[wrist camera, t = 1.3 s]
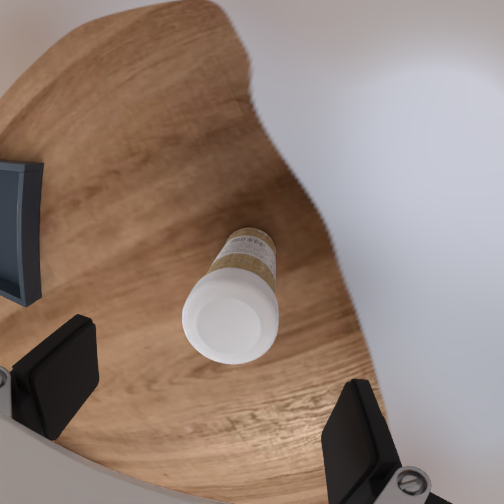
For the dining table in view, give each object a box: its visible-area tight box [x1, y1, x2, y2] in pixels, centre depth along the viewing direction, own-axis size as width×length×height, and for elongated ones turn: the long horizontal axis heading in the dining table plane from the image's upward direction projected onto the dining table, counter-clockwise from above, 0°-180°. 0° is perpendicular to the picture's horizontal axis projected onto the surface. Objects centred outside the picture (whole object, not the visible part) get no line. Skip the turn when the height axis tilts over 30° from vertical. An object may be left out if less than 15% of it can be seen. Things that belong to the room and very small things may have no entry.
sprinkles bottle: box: [182, 227, 279, 364], centre depth 20 cm, size 5×5×14 cm
